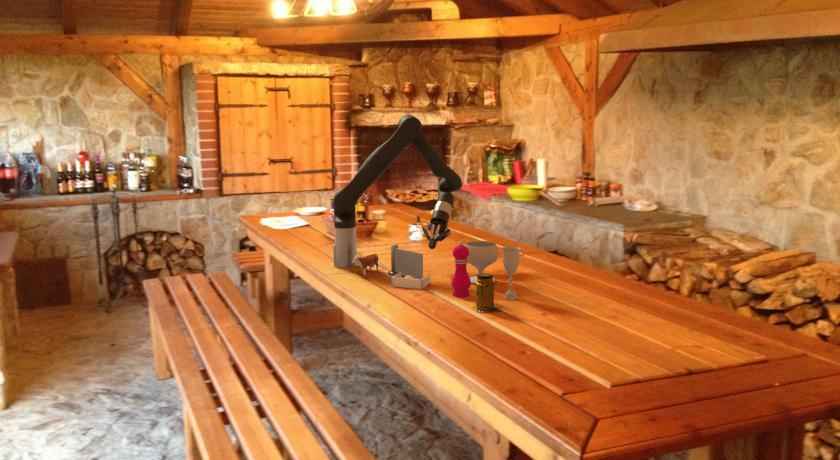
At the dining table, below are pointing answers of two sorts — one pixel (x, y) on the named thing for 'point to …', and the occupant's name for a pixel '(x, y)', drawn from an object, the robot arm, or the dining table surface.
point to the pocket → (409, 281)
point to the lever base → (392, 273)
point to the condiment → (485, 293)
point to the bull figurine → (366, 262)
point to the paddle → (406, 262)
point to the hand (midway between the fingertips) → (431, 248)
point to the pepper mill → (461, 271)
